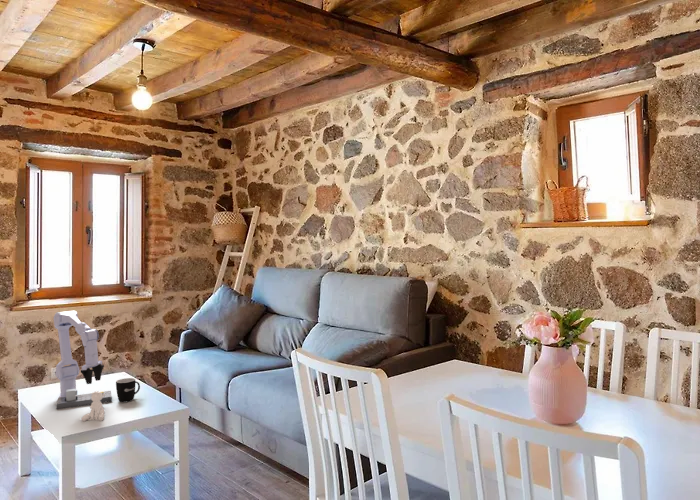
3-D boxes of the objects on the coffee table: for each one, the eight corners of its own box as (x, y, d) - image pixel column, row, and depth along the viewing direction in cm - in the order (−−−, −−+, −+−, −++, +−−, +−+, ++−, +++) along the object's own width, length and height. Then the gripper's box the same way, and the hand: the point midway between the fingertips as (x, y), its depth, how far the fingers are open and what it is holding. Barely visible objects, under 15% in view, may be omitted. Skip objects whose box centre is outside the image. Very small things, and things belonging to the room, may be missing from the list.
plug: (67, 403, 261) (66, 389, 261) (77, 402, 263) (77, 388, 263) (66, 405, 257) (66, 391, 257) (77, 404, 259) (76, 390, 259)
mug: (122, 404, 257) (122, 383, 257) (112, 401, 263) (112, 381, 263) (145, 398, 267) (144, 378, 267) (135, 395, 272) (134, 375, 272)
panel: (58, 402, 263) (58, 397, 263) (111, 395, 273) (110, 390, 273) (56, 409, 252) (56, 403, 252) (111, 401, 262) (111, 396, 262)
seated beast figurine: (80, 421, 233) (79, 394, 233) (90, 415, 242) (89, 389, 242) (102, 421, 233) (101, 394, 233) (110, 414, 242) (110, 388, 242)
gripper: (90, 356, 252) (93, 384, 252) (107, 351, 267) (109, 378, 266) (76, 357, 253) (79, 385, 252) (93, 352, 267) (96, 379, 267)
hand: (93, 382), depth 259 cm, fingers open, 7 cm apart
